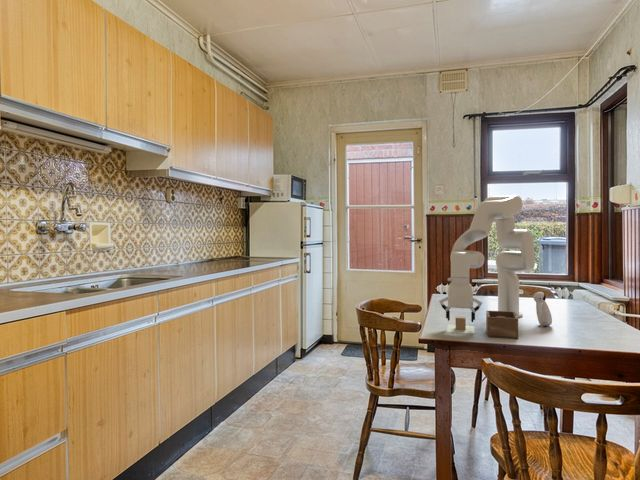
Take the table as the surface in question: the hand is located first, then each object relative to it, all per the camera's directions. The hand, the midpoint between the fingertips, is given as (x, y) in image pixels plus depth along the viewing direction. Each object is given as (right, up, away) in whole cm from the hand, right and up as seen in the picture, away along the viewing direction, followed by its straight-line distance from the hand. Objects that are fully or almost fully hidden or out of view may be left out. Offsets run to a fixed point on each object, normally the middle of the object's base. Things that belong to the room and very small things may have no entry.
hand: (460, 320), depth 183 cm
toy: (+38, -3, +5) cm, 38 cm away
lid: (0, -4, +1) cm, 4 cm away
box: (+14, -4, -8) cm, 17 cm away
